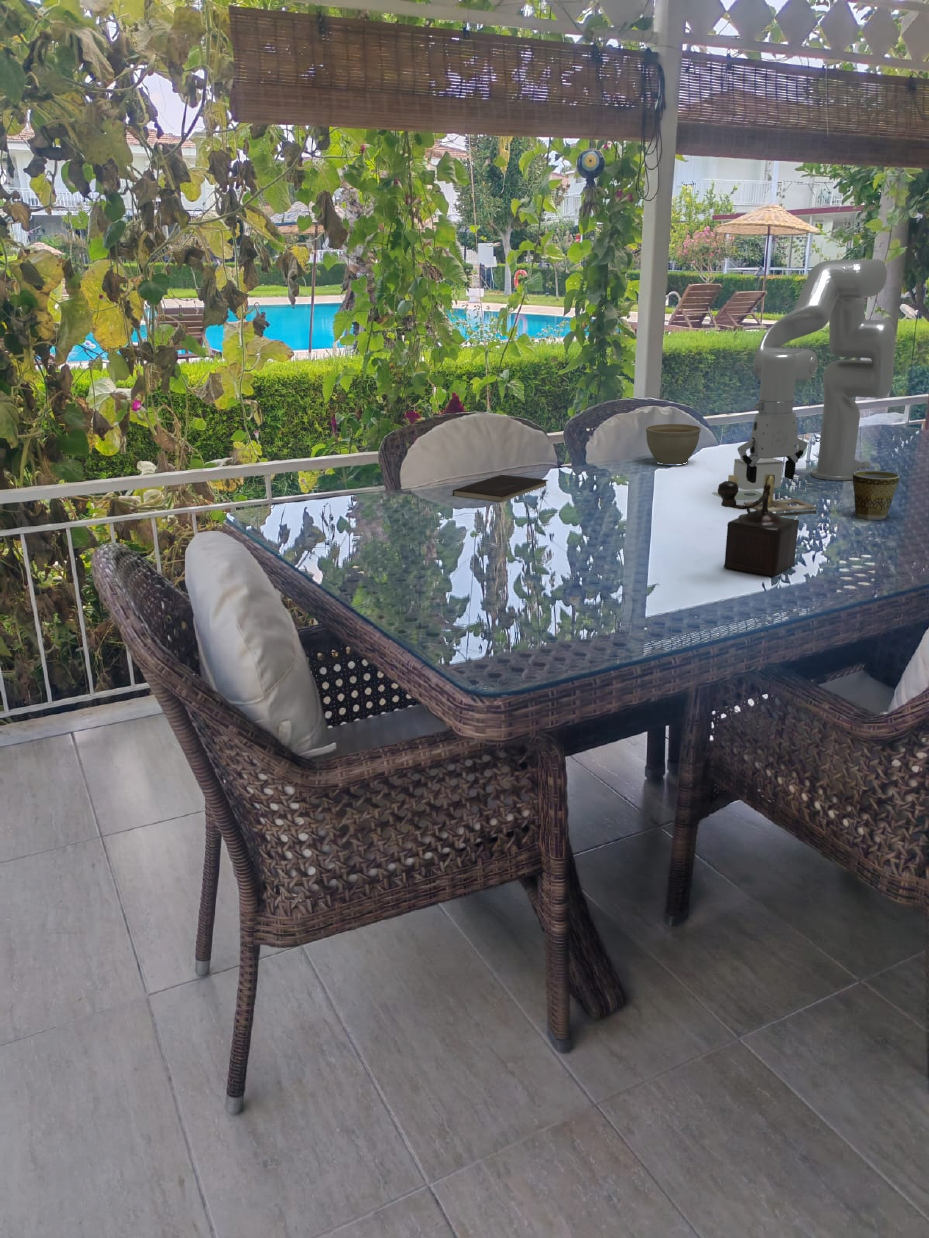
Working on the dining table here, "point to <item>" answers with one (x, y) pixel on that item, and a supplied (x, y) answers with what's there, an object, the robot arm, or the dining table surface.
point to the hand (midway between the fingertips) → (770, 480)
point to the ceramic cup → (873, 493)
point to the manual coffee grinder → (758, 536)
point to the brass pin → (769, 480)
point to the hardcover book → (500, 488)
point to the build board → (788, 507)
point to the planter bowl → (672, 442)
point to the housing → (758, 473)
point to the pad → (742, 494)
